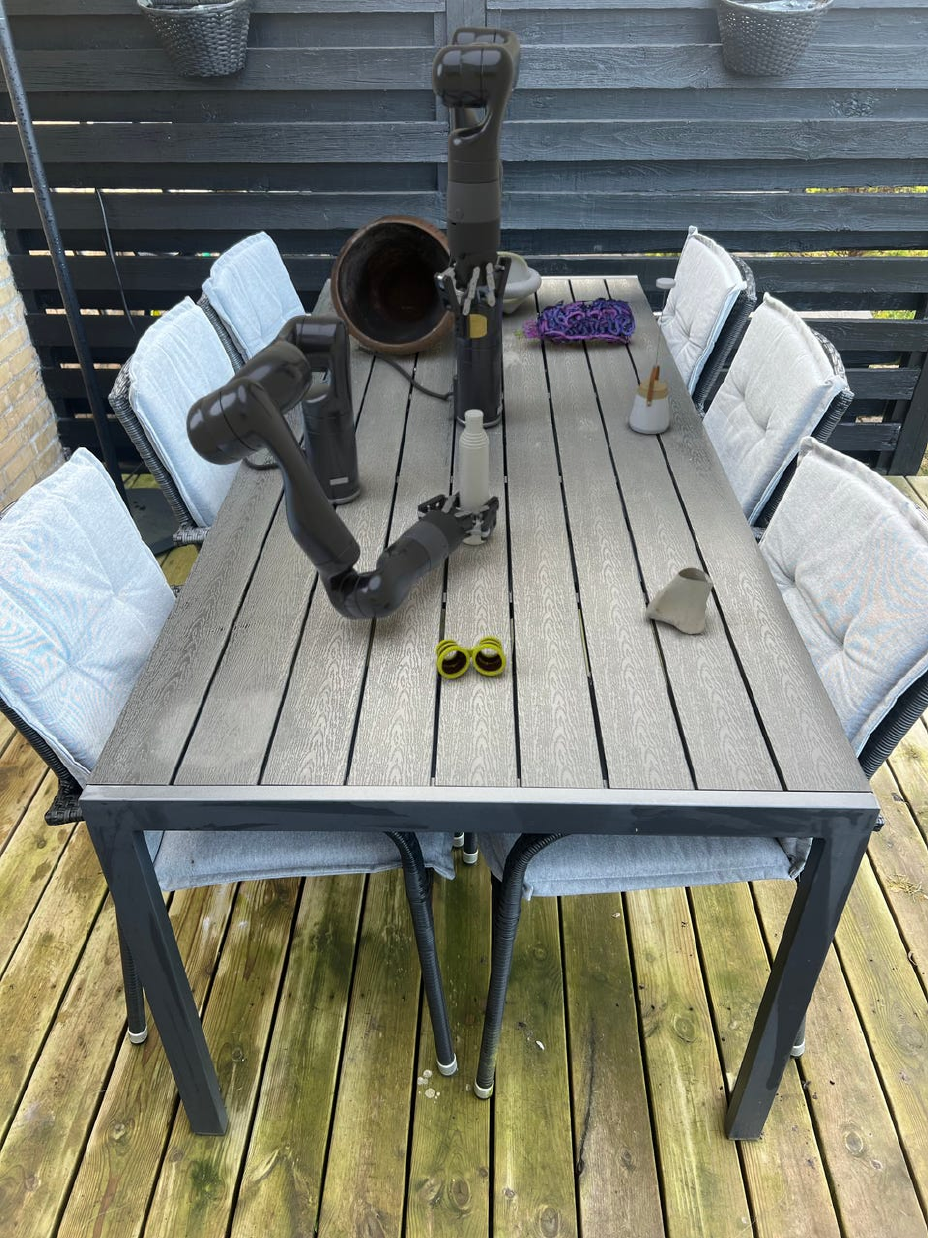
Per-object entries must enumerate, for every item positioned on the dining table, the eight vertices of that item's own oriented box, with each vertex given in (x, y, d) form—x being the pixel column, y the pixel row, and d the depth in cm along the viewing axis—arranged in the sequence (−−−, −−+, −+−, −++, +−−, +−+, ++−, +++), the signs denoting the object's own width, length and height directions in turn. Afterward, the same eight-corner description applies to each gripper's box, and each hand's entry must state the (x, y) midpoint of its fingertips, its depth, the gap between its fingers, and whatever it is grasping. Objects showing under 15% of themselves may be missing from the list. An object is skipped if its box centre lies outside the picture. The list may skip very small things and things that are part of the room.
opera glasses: (501, 660, 136) (501, 629, 134) (506, 678, 131) (506, 646, 129) (435, 664, 136) (434, 634, 133) (438, 682, 131) (436, 651, 129)
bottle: (487, 529, 164) (488, 405, 150) (489, 544, 160) (491, 419, 146) (459, 530, 164) (457, 406, 149) (461, 545, 160) (459, 420, 145)
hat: (455, 295, 261) (454, 240, 252) (532, 292, 263) (534, 237, 254) (465, 327, 242) (464, 268, 233) (548, 323, 244) (550, 264, 235)
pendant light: (664, 436, 191) (684, 289, 173) (625, 431, 193) (640, 285, 175) (671, 420, 197) (691, 276, 179) (633, 414, 199) (649, 272, 181)
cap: (456, 330, 140) (456, 316, 139) (480, 326, 142) (480, 312, 140) (466, 339, 138) (466, 324, 136) (491, 335, 139) (491, 321, 137)
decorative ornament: (642, 323, 223) (518, 325, 220) (633, 359, 231) (514, 362, 228) (631, 290, 230) (511, 291, 228) (623, 326, 239) (508, 328, 236)
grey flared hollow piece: (698, 626, 144) (712, 564, 142) (708, 640, 137) (723, 575, 134) (641, 618, 144) (654, 555, 142) (648, 632, 137) (662, 566, 134)
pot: (366, 206, 239) (363, 182, 210) (477, 263, 245) (489, 246, 216) (317, 325, 245) (307, 317, 216) (426, 378, 251) (431, 377, 222)
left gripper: (466, 535, 143) (519, 488, 154) (389, 510, 149) (446, 467, 160) (466, 575, 147) (518, 526, 159) (392, 550, 153) (447, 504, 165)
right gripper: (490, 198, 135) (489, 316, 146) (417, 217, 128) (421, 339, 138) (528, 208, 131) (524, 328, 141) (454, 227, 123) (456, 353, 134)
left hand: (482, 497), depth 159 cm, fingers closed on bottle, 5 cm apart
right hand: (473, 333), depth 140 cm, fingers closed on cap, 4 cm apart
